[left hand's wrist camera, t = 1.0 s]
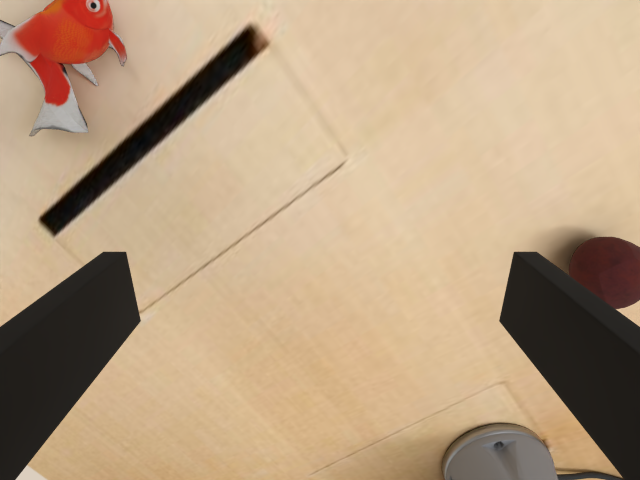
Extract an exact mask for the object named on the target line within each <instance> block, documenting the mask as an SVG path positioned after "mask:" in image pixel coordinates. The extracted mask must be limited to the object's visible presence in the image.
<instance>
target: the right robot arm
mask: <svg viewBox="0 0 640 480" xmlns="http://www.w3.org/2000/svg"><path fill="white" fill-rule="evenodd" d="M442 471H443V475H444V478H445V480H577V479H584V478H599V479H605V480H624V479H621V478H617V477H614V476H611V475H607V474H602V473H596V472H584V473H576V474H558V475H557V474H556V470H555V467H554V463H553V459H552V457H551V454H550V452H549V450H548V449H547V447H546V446H545V444H544V443H543V441H542V440H541V438H540V437H539V436H538V435H537V434H535V433H534V432H533V431H531V430H529V429H527V428H525V427H522V426H518V425H513V424H493V425H487V426H483V427H480V428H477V429H474V430H472V431H470V432H468V433H466V434H464V435H463V436H461V437H460V438H458V439H457V440H456V441H455V442H454V443H453V444H452V445H451V446H450V447H449V449H448V450H447V452H446V454H445V456H444V459H443V463H442Z"/></svg>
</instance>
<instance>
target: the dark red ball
mask: <svg viewBox="0 0 640 480" xmlns="http://www.w3.org/2000/svg"><path fill="white" fill-rule="evenodd" d="M569 276H570V277H572V278H573V279H575V280H576V281H577V282H579V283H580V284H581V285H583V286H584V287H586V288H587V289H588V290H590V291H591V292H592V293H594V294H595V295H596V296H598V297H599V298H601V299H602V300H603V301H605V302H606V303H607V304H609V305H610V306H612V307H613V308H614V309H620V308H625V307H628V306H630V305H632V304H634V303H636V302H637V301H639V300H640V247H638V246H636V245H635V244H633V243H631V242H628V241H625V240H622V239H620V238H615V237H597V238H593V239H590V240H588V241H585V242H584V243H583V244H581V245H580V246H579V247H578V248H577V249H576V251H575V252H574V254H573V256H572V259H571V262H570V265H569Z"/></svg>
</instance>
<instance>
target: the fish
mask: <svg viewBox="0 0 640 480" xmlns="http://www.w3.org/2000/svg"><path fill="white" fill-rule="evenodd" d="M113 29H114V25H113V16H112V12H111V9H110V6H109V3H108V0H54V1H53V2H52V3H51V4H49V5H48V6H47V7H46V8H45V9H44V10H43V12H39V13H37V14H35V15H34V16H32V17H30V18H29V19H27V20H25V21H24V22H22V23H21V24H19V25H17V26H16V27H15V26H13V25H11V24H8V23H6V22H4V21H2V20H0V37H1V38H2V39H3V40H2V42H1V44H0V56H1V55H4V54H6V53H11V52H13V53H17V54H18V55H19V56H20V57H21V58H22V59H23V60H24V61H25V62H26V63H27V64H28V66H29V67H30V68H31V69H32V70H33V72H34V73H35V74H36V75H37V77H38V78H39V80H40V81H41V83H42V85H43V87H44V90H45V99H44V102H43V105H42V108H41V110H40V113H39V115H38V118H37V119H36V122H35V124H34V127H33V129H32V131H31V133H30V135H29V136H34V135H35V134H36V133H37V132H38V131H40V130H41V129H59V130H64V131H68V132H88V128H87V123H86V121H85V119H84V117H83V115H82V113H81V111H80V109H79V106H78V103H77V100H76V97H75V95H74V92H73V89H72V86H71V83H70V81H69V78H68V75H67V73H66V70H65V67H64V66H63V64H71V65H72V67H73V68H74V69H76V70H77V71H78V72H80V73H81V74H82V75H84V76H85V77H86V78H87V79H89V80H90V81H91V82H92V83H94V84H95V85H96V86H98V83H97V81H96V79H95V77H94V75H93V73H92V71H91V70H90V69H89V67H88V66H87V64H86V62H90V61H92V60H95V59H96V58H98V57H100V56H101V55H102V54H103V53H104V52H105V51H106V50H107V48H108V47H110V48H112V49H114V50H115V52H116V53H117V55H118V57H119V60H120V64H121V66H124V62H125V61H126V59H127V55H126V51H125V47H124V45H123V41H122V39H121V37H120V36H119V35H117V34H115V33H114V32H113Z"/></svg>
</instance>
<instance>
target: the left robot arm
mask: <svg viewBox="0 0 640 480" xmlns="http://www.w3.org/2000/svg"><path fill="white" fill-rule="evenodd" d="M140 321H141V320H140V316H139V311H138V306H137V302H136V297H135V292H134V287H133V283H132V278H131V273H130V268H129V264H128V259H127V254H126V252H103V253H101V254H100V255H98V256H97V257H96V258H94V259H93V260H92V261H90V262H89V263H87V264H86V265H85V266H83V267H82V268H81V269H79V270H78V271H76V272H75V273H74V274H72V275H71V276H70V277H68V278H67V279H65V280H64V281H63V282H61V283H60V284H59V285H57V286H56V287H54V288H53V289H52V290H50V291H49V292H48V293H46V294H45V295H44V296H42V297H41V298H39V299H38V300H37V301H35V302H34V303H33V304H31V305H30V306H28V307H27V308H26V309H24V310H23V311H22V312H20V313H19V314H17V315H16V316H15V317H13V318H12V319H11V320H9V321H8V322H6V323H5V324H4V325H2V326H1V327H0V480H15V479H16V478H17V477H18V476H19V474H20V473H21V472H22V471H23V469H24V468H25V467H26V465H27V464H28V463H29V462H30V460H31V459H32V458H33V457H34V455H35V454H36V453H37V452H38V450H39V449H40V448H41V447H42V445H43V444H44V443H45V441H46V440H47V439H48V438H49V436H50V435H51V434H52V433H53V431H54V430H55V429H56V428H57V426H58V425H59V424H60V422H61V421H62V420H63V419H64V417H65V416H66V415H67V414H68V412H69V411H70V410H71V409H72V407H73V406H74V405H75V403H76V402H77V401H78V400H79V398H80V397H81V396H82V395H83V393H84V392H85V391H86V390H87V388H88V387H89V386H90V384H91V383H92V382H93V381H94V379H95V378H96V377H97V376H98V374H99V373H100V372H101V371H102V369H103V368H104V367H105V366H106V364H107V363H108V362H109V360H110V359H111V358H112V357H113V355H114V354H115V353H116V352H117V350H118V349H119V348H120V347H121V345H122V344H123V343H124V341H125V340H126V339H127V338H128V336H129V335H130V334H131V333H132V331H133V330H134V329H135V328H136V326H137V325H138V324H139V322H140ZM499 321H500V322H501V324H502V325H503V326H504V328H505V329H506V330H507V331H508V333H509V334H510V335H511V336H512V338H513V339H514V340H515V341H516V343H517V344H518V345H519V347H520V348H521V349H522V350H523V352H524V353H525V354H526V355H527V357H528V358H529V359H530V360H531V362H532V363H533V364H534V366H535V367H536V368H537V369H538V371H539V372H540V373H541V374H542V376H543V377H544V378H545V379H546V381H547V382H548V383H549V384H550V386H551V387H552V388H553V390H554V391H555V392H556V393H557V395H558V396H559V397H560V398H561V400H562V401H563V402H564V403H565V405H566V406H567V407H568V409H569V410H570V411H571V412H572V414H573V415H574V416H575V417H576V419H577V420H578V421H579V422H580V424H581V425H582V426H583V428H584V429H585V430H586V431H587V433H588V434H589V435H590V436H591V438H592V439H593V440H594V441H595V443H596V444H597V445H598V447H599V448H600V449H601V450H602V452H603V453H604V454H605V455H606V457H607V458H608V459H609V460H610V462H611V463H612V464H613V465H614V467H615V468H616V469H617V471H618V472H619V473H620V474H621V476H622V477H623V478H624V479H625V480H640V327H639V326H638V325H636V324H635V323H634V322H632V321H631V320H629V319H628V318H627V317H625V316H624V315H623V314H621V313H620V312H618V311H617V310H616V309H614V308H613V307H612V306H610V305H609V304H607V303H606V302H605V301H603V300H602V299H601V298H599V297H598V296H596V295H595V294H594V293H592V292H591V291H590V290H588V289H587V288H586V287H584V286H583V285H581V284H580V283H579V282H577V281H576V280H575V279H573V278H572V277H570V276H569V275H568V274H566V273H565V272H564V271H562V270H561V269H559V268H558V267H557V266H555V265H554V264H553V263H551V262H550V261H548V260H547V259H546V258H544V257H543V256H542V255H540V254H539V253H537V252H514V254H513V259H512V264H511V268H510V273H509V278H508V283H507V287H506V292H505V297H504V302H503V306H502V311H501V316H500V320H499Z"/></svg>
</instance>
